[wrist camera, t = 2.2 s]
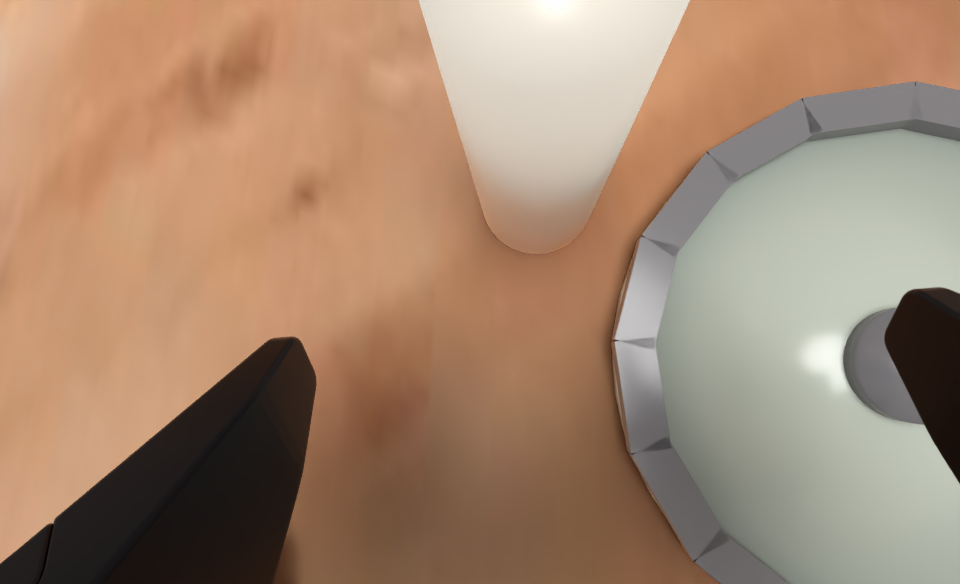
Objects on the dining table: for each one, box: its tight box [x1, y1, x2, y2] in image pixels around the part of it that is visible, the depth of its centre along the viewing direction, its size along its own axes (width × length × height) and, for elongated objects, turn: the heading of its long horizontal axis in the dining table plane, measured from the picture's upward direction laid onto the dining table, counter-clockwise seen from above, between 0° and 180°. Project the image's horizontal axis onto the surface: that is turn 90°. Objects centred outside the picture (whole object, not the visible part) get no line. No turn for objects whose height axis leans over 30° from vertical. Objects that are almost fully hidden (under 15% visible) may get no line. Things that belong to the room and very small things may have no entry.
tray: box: [611, 82, 960, 584], centre depth 18 cm, size 20×20×2 cm
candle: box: [419, 0, 690, 254], centre depth 14 cm, size 4×4×14 cm
